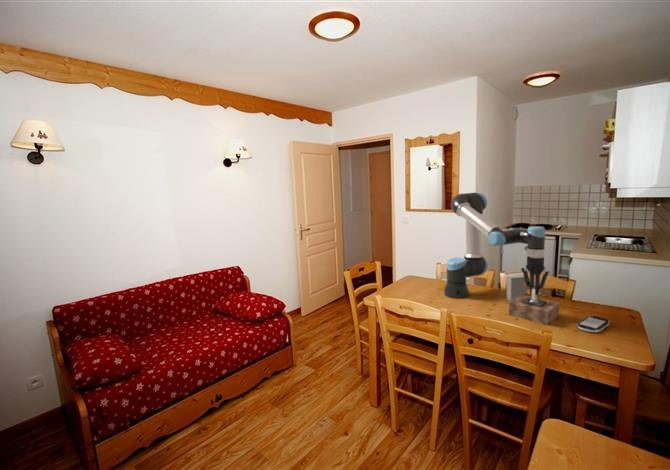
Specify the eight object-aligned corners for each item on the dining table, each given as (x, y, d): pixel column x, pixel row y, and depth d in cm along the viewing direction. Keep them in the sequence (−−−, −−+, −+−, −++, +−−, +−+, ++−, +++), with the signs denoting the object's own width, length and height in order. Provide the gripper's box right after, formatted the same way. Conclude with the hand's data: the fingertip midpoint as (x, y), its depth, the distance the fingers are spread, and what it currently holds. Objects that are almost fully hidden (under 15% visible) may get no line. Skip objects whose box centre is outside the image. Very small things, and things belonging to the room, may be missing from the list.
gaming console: (596, 336, 144) (596, 331, 144) (573, 329, 152) (573, 324, 151) (612, 324, 155) (612, 319, 154) (590, 318, 162) (590, 313, 162)
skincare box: (520, 298, 193) (520, 273, 191) (525, 302, 186) (526, 276, 184) (505, 298, 194) (506, 273, 191) (510, 302, 187) (511, 277, 184)
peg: (527, 314, 169) (528, 300, 168) (530, 312, 171) (531, 298, 170) (536, 317, 166) (536, 302, 165) (539, 314, 168) (539, 300, 167)
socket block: (508, 314, 171) (509, 300, 170) (521, 306, 180) (522, 293, 179) (547, 325, 157) (547, 309, 156) (558, 315, 166) (559, 301, 165)
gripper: (518, 256, 167) (517, 299, 170) (547, 259, 156) (545, 305, 160) (525, 253, 171) (523, 295, 175) (552, 256, 161) (551, 301, 164)
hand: (534, 300), depth 167 cm, fingers closed
